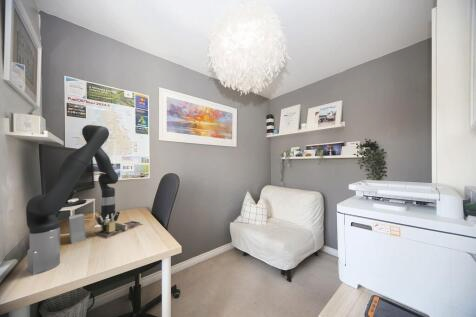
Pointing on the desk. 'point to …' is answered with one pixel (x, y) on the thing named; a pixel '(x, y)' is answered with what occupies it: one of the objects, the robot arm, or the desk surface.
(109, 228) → the stop bar
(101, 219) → the white creature statuette
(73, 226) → the skincare box
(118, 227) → the lock board
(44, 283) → the desk surface
